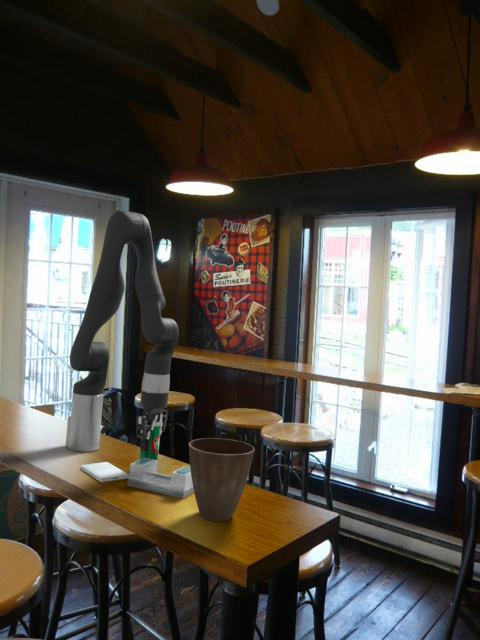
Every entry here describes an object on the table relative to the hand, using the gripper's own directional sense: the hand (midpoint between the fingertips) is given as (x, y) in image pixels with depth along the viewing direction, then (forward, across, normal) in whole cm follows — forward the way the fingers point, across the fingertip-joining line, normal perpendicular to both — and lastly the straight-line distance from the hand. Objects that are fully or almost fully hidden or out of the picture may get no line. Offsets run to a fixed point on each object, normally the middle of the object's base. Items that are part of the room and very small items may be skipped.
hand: (149, 449), depth 152 cm
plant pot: (+6, +19, +29) cm, 35 cm away
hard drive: (+7, +9, -8) cm, 14 cm away
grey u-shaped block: (+6, +10, +10) cm, 15 cm away
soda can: (+4, 0, 0) cm, 4 cm away
